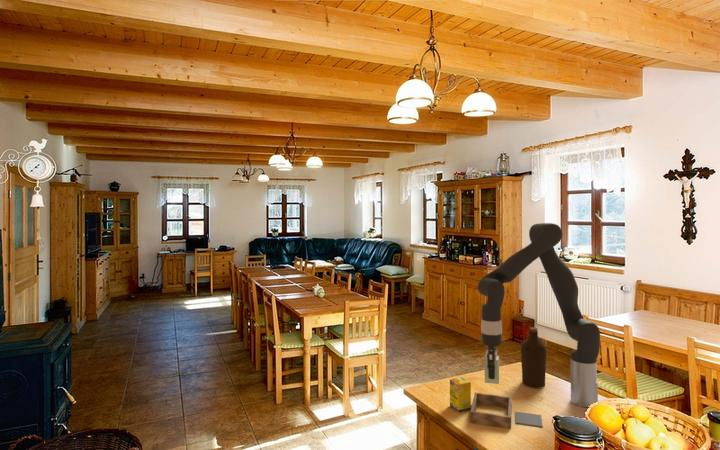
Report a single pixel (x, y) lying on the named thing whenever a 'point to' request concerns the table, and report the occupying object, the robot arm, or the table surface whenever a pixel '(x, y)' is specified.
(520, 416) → the mat
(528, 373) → the olive oil
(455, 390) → the supplement box
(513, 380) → the table surface
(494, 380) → the block
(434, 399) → the table surface
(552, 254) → the robot arm
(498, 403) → the frame
